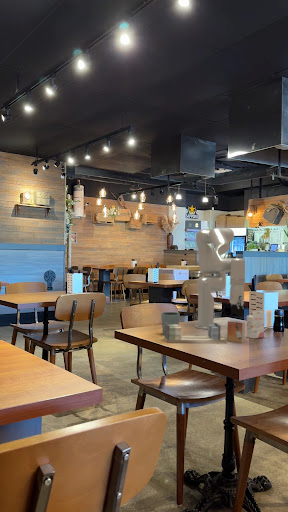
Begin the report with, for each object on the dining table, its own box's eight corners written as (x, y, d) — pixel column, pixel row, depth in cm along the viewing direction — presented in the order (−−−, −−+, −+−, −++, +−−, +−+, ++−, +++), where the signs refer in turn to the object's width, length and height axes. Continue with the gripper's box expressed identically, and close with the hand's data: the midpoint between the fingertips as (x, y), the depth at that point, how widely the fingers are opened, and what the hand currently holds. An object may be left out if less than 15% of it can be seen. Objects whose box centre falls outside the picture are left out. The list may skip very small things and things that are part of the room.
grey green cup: (183, 335, 232) (183, 313, 232) (171, 337, 225) (171, 315, 225) (168, 332, 239) (169, 311, 239) (157, 334, 232) (157, 313, 232)
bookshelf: (164, 339, 220) (164, 322, 220) (220, 339, 223) (220, 322, 223) (167, 344, 209) (167, 326, 209) (226, 344, 212) (226, 326, 212)
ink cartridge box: (257, 335, 235) (258, 309, 235) (264, 337, 231) (264, 310, 231) (245, 336, 231) (246, 310, 231) (252, 338, 227) (252, 311, 227)
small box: (226, 341, 219) (227, 321, 219) (229, 339, 224) (230, 319, 224) (242, 343, 215) (242, 322, 215) (244, 341, 220) (245, 321, 220)
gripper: (225, 281, 227) (225, 313, 227) (235, 283, 210) (235, 317, 210) (239, 281, 228) (238, 313, 228) (250, 283, 211) (249, 317, 211)
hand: (237, 315), depth 219 cm, fingers open, 9 cm apart
